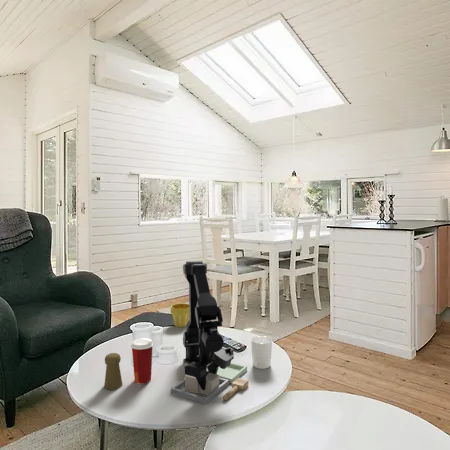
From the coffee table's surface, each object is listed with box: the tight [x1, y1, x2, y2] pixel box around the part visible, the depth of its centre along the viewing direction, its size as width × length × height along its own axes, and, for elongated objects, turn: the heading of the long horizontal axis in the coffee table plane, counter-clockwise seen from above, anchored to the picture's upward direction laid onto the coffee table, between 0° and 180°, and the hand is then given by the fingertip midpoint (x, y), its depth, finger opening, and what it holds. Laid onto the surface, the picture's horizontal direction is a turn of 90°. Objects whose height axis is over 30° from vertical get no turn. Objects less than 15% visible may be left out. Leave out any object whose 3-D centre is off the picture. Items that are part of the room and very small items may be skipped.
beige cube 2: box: [184, 374, 200, 394], centre depth 129 cm, size 5×5×5 cm
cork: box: [103, 352, 123, 391], centre depth 131 cm, size 6×6×11 cm
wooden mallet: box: [222, 377, 249, 401], centre depth 126 cm, size 13×4×2 cm, turn 149°
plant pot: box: [170, 302, 189, 328], centre depth 193 cm, size 10×10×10 cm
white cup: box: [250, 335, 273, 370], centre depth 147 cm, size 8×8×10 cm
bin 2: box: [207, 362, 248, 384], centre depth 141 cm, size 15×12×2 cm
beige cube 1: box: [198, 373, 220, 396], centre depth 127 cm, size 5×5×5 cm
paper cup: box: [130, 337, 154, 385], centre depth 135 cm, size 8×8×14 cm
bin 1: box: [170, 377, 230, 405], centre depth 129 cm, size 14×15×2 cm
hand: (208, 386), depth 128 cm, fingers closed on beige cube 1, 5 cm apart
